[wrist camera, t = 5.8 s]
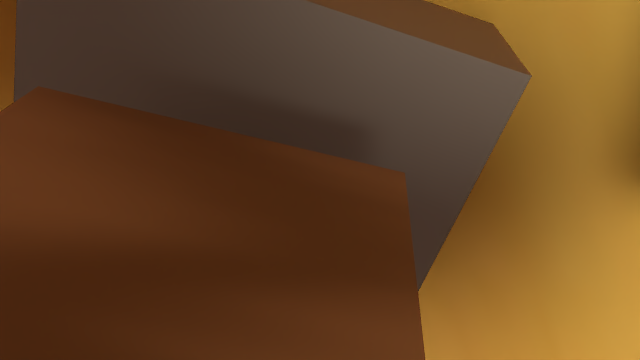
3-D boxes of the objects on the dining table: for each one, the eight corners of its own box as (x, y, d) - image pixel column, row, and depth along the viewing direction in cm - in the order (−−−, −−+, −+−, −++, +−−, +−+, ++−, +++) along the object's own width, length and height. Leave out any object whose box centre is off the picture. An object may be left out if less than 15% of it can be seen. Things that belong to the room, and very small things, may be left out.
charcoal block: (490, 20, 12) (531, 76, 9) (363, 294, 16) (361, 399, 13) (115, -108, 11) (19, -95, 8) (80, 212, 15) (7, 300, 12)
